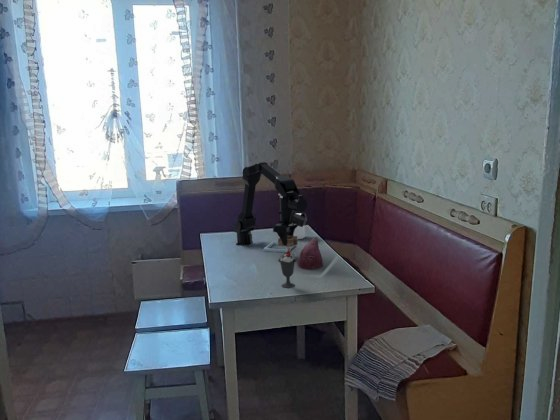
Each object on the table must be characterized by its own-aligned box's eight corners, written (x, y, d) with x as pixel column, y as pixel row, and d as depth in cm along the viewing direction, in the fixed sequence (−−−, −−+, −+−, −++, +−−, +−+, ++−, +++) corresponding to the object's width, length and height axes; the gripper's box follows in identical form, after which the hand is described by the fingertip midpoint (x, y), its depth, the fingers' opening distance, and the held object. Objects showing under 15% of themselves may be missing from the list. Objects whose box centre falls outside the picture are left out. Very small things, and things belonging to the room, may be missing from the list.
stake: (278, 260, 216) (277, 243, 214) (283, 255, 222) (283, 239, 220) (293, 261, 213) (292, 244, 212) (298, 256, 220) (297, 240, 218)
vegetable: (323, 272, 207) (333, 238, 205) (317, 277, 198) (327, 241, 195) (300, 264, 211) (309, 231, 208) (293, 269, 201) (302, 234, 198)
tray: (263, 252, 227) (263, 248, 227) (272, 246, 238) (272, 241, 237) (287, 254, 223) (287, 249, 223) (295, 247, 234) (295, 243, 233)
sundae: (291, 290, 180) (290, 250, 177) (276, 287, 183) (274, 248, 180) (300, 284, 185) (299, 245, 182) (285, 281, 189) (284, 243, 186)
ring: (278, 245, 214) (278, 238, 214) (283, 241, 220) (283, 235, 220) (294, 246, 212) (294, 240, 211) (299, 242, 218) (299, 236, 217)
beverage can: (305, 239, 247) (304, 216, 245) (289, 240, 247) (288, 216, 245) (304, 235, 255) (304, 212, 253) (289, 236, 255) (288, 213, 253)
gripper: (296, 213, 202) (297, 250, 205) (311, 205, 218) (312, 239, 222) (271, 212, 206) (273, 248, 209) (287, 204, 223) (288, 237, 226)
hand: (287, 243), depth 216 cm, fingers closed on ring, 6 cm apart
